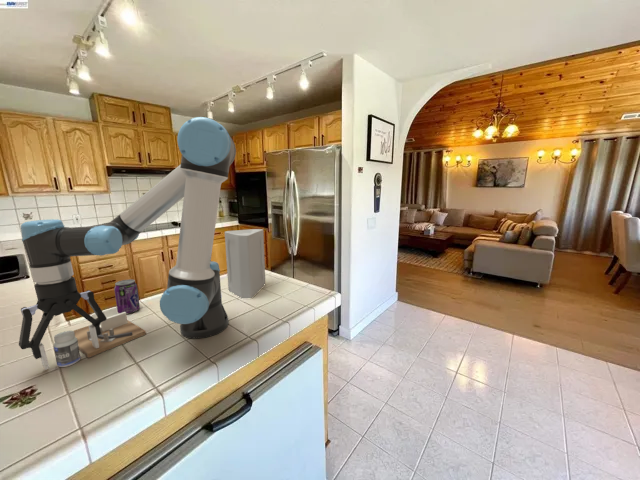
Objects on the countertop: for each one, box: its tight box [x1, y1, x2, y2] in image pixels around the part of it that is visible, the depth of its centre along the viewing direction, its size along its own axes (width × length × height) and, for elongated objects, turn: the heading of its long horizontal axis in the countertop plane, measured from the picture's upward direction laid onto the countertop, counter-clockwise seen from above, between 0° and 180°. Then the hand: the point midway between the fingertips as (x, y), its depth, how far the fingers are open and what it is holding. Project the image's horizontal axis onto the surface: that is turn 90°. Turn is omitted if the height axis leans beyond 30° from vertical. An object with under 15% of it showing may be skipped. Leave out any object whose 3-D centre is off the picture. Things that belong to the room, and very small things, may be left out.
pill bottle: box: [53, 330, 81, 368], centre depth 72 cm, size 5×5×8 cm
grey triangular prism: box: [224, 228, 266, 299], centre depth 123 cm, size 19×15×28 cm
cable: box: [97, 332, 132, 339], centre depth 83 cm, size 13×4×1 cm, turn 81°
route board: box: [73, 319, 147, 359], centre depth 86 cm, size 20×15×4 cm
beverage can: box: [113, 278, 141, 315], centre depth 102 cm, size 7×7×12 cm
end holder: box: [90, 306, 128, 332], centre depth 91 cm, size 8×7×4 cm
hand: (72, 356), depth 73 cm, fingers open, 10 cm apart
